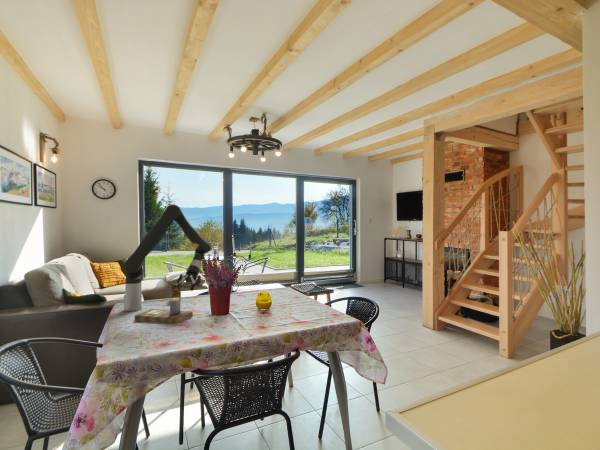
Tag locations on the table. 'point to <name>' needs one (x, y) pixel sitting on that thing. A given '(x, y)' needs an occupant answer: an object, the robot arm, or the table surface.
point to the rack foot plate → (163, 316)
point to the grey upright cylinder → (175, 306)
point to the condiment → (175, 292)
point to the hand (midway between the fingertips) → (184, 289)
